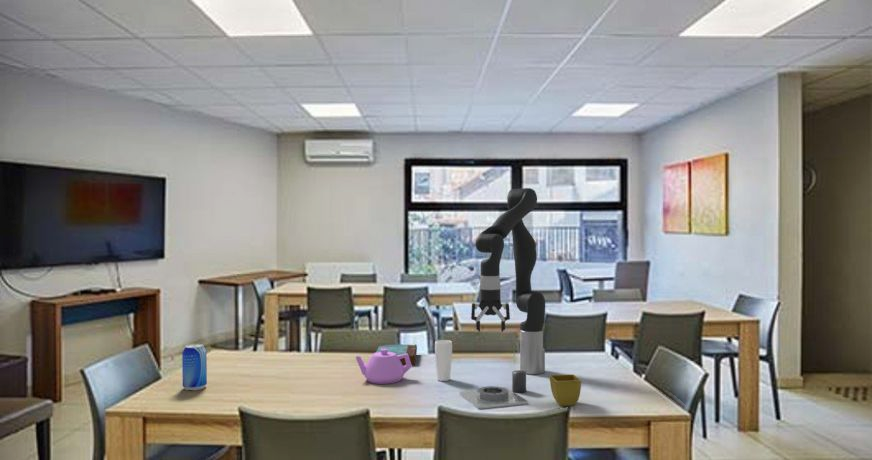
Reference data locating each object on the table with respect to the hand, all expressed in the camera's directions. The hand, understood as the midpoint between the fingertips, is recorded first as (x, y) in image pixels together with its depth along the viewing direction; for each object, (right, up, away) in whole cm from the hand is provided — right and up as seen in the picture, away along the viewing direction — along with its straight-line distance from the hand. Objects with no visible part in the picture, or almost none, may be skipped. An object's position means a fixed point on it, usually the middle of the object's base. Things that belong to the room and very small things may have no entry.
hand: (490, 331), depth 225 cm
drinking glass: (-17, -21, +12) cm, 30 cm away
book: (-38, -21, +48) cm, 65 cm away
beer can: (-111, -22, +2) cm, 113 cm away
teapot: (-41, -22, +13) cm, 48 cm away
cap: (+10, -21, -4) cm, 24 cm away
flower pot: (+23, -22, -20) cm, 37 cm away
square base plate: (-1, -21, -14) cm, 25 cm away
